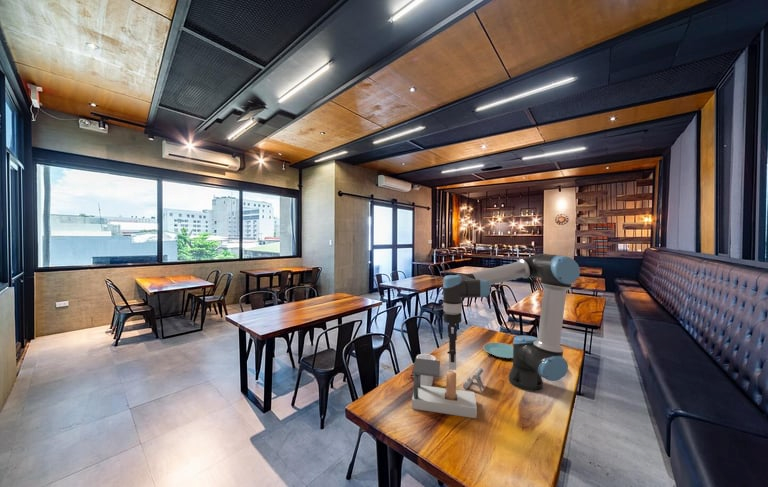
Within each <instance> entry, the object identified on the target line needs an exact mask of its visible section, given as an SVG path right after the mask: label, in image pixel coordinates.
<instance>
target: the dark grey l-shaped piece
mask: <svg viewBox="0 0 768 487" xmlns="http://www.w3.org/2000/svg"><path fill="white" fill-rule="evenodd" d="M440 367H441V361H440V360H427V359H418V358H416V357H415V360H414V364H413V366H412V371H411V374H412V375H413V392H414V399H418V388H420V387H421V375H425V376H433V378H434V377H435V378H439V377H440V369H441V368H440Z"/></svg>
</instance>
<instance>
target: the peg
mask: <svg viewBox="0 0 768 487" xmlns="http://www.w3.org/2000/svg"><path fill="white" fill-rule="evenodd" d="M445 379H446V384H445V385H446V386H445V387H446V399H447V400H454V401H456V390H457V373H456V372H455V371H453V370H452V371H451V370H448V371H447V372H446V377H445Z"/></svg>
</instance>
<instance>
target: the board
mask: <svg viewBox="0 0 768 487" xmlns="http://www.w3.org/2000/svg"><path fill="white" fill-rule="evenodd" d="M476 399H477V398H476V394H475V392H474V391H467V390H463V389H462V390H461V389H459V390H458V389H456V401H454V400H447V399H446V388H445V387H439V386H424V385H421V387H420V388H418V399H414V391H413V392H412V397H411V409H412V410H419V411H424V412H426V411H427V412H432V413H439V414H445V415H453V416H459V417H466V418H472V419H478V418H477V417H478V416H477V415H478V407H477V400H476Z"/></svg>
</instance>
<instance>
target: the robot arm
mask: <svg viewBox="0 0 768 487" xmlns="http://www.w3.org/2000/svg"><path fill="white" fill-rule="evenodd" d="M580 271H581V269H580V267H579V264H578V262H576V261H575V260H574V258H572V257H570V256H565V255H561V254H548V253H540V254H535V255H531V256H527V257H524V258H519V259H518V260H517V261H516V262H512V263H509V264H507V263H506V264H504V265H500V266H496V267H495V266H494V267H491V268H487V269H483V270H479V271H476V272H475V271H474V272H470V273H466V274H459V273H458V274H456V275H455V274H454V275H453V274H448V275H445V276H444V277H443V281H442V282H443V283H442V288H443V289H442V294H443V295H442V296H443V297H442V298H443V299H442V300H443V303H442V304H441V307H443V308H442V310H443V313H442V316H443V318H442V319H443V321H444V322H445V323H448V324H447V332H448V333H447V336H448V339H449V340H448V345H449V346H448V349H449V350H448V351H447V354H448V369H449V370H452V371H454V370H455V371H456V370H457V348H456V346H457V345H456V343H457V342H456V341H457V339H458V338H457V336H458V335H457V333H458V325H457V324H460V323H462V312H463V311H462V309H463V307H462V306H463V305H462V302H463V300H462V299H469V298H470V299H472V298H473V299H474V298H476V299H477V298H480V299H481V298H486V297H488V296H489V295H490V293H491V286H493V285H495V284H500V283H504V282H508V281H512V280H515V279H521V278H522V279H530V278H539V279H540V285H541V286H542V287H543V293H542V300H541V310H540V316H539V323H538V325H539V326H538V331H537V332H538V334H537V337H536V336H532V335H516V336H514V337H513V343H512V346H513V358H512V367H511V369H510V371H509V374H508V382H509V384H511V385H512V386H514V387H515V388H517V389H520V390H522V391H526V392H527V391H528V392H540V391H541V390H543V388H544V381H543V378H544V379H546V380H547V381H549V382H556V381H559V380H561V379H562V378H564V377H565V376H566V374H567V373H568V369H569V364H568V361H567V360H566V359H565V357H564V356H563V355H564V349H563V347H562V346H561V337H562V330H563V321H564V313H565V305H566V297H567V292H568V291H569V290H570V289H572V284H574V283H576V282H577V280H578V279H579V278H580V273H581V272H580ZM578 281H579V280H578Z"/></svg>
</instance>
